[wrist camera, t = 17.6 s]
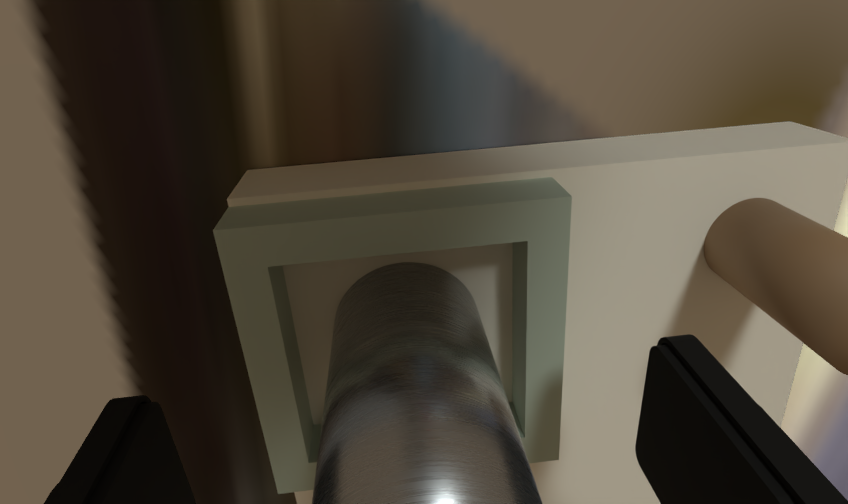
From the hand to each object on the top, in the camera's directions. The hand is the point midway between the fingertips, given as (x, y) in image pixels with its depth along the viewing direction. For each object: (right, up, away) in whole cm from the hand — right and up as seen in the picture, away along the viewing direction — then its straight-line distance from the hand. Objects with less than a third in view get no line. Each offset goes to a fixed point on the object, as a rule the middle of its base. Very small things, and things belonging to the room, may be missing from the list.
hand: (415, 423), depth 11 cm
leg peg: (0, +1, +5) cm, 5 cm away
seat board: (+3, -6, +11) cm, 13 cm away
